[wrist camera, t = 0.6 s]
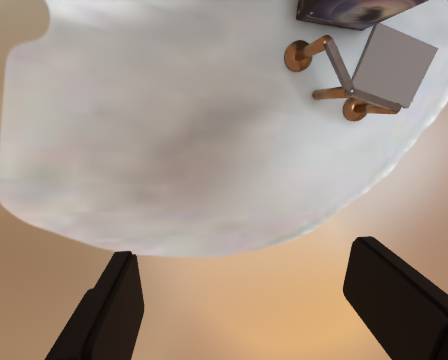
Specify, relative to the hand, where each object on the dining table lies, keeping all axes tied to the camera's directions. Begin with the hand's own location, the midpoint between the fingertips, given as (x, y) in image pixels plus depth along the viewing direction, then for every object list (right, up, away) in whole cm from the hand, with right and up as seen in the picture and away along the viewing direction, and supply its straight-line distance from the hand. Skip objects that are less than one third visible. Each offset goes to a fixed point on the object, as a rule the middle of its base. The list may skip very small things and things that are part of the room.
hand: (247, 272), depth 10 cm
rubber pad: (+25, +21, +25) cm, 41 cm away
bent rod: (+15, +19, +25) cm, 35 cm away
